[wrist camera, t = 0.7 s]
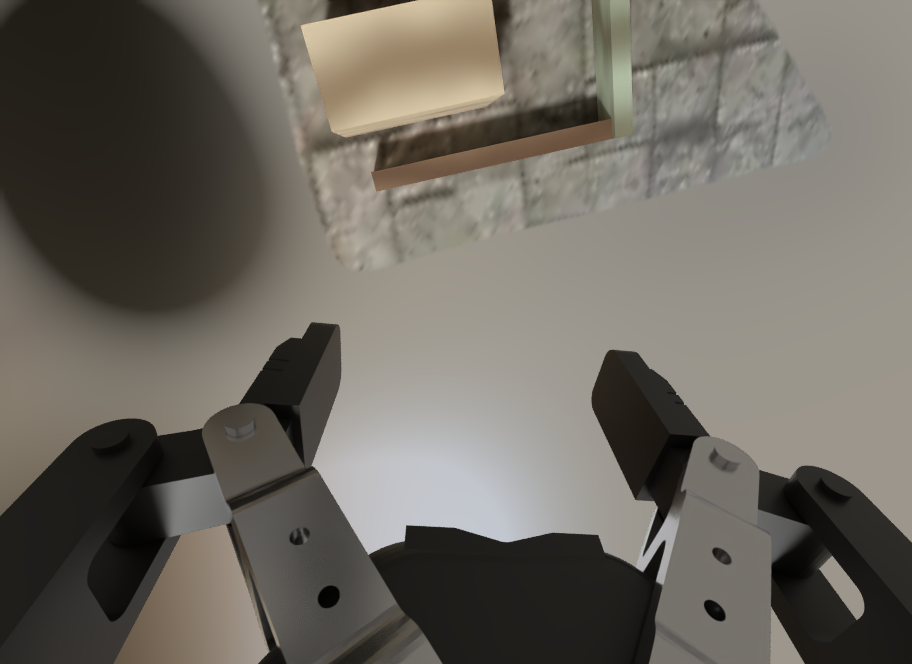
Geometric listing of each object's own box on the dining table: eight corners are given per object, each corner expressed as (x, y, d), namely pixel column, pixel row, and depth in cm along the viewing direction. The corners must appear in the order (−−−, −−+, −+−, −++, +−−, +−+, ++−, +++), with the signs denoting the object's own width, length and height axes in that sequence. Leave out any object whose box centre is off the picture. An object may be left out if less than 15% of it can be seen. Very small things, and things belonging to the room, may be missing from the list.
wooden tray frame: (321, -24, 30) (312, -44, 27) (606, -85, 30) (626, -110, 27) (378, 189, 35) (376, 191, 33) (615, 136, 36) (632, 134, 33)
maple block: (322, 53, 31) (300, 25, 25) (472, 20, 32) (489, -16, 25) (346, 137, 34) (331, 131, 27) (485, 106, 34) (504, 93, 28)
